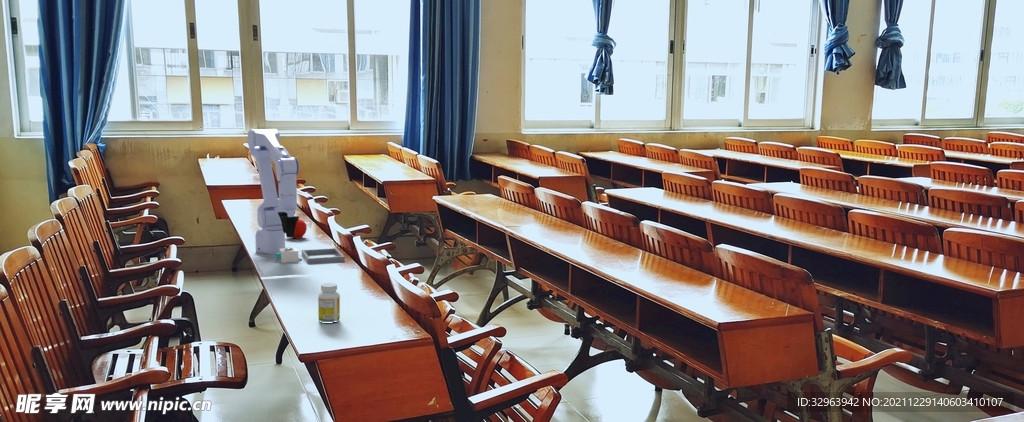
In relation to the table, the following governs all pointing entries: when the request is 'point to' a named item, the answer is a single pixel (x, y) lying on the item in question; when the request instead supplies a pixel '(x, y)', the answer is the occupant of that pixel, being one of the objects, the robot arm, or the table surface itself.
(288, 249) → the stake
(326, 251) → the tray
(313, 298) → the table surface
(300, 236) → the apple
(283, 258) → the collar
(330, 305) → the supplement bottle
